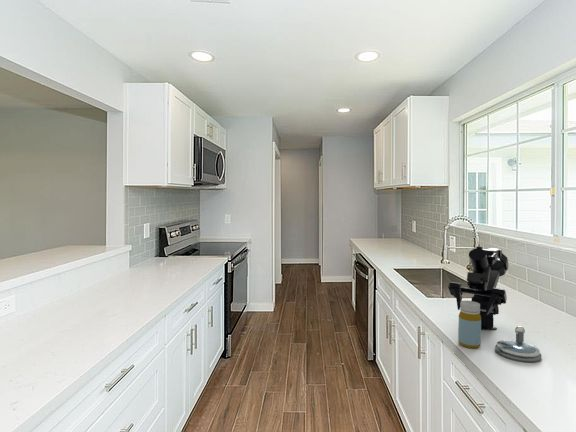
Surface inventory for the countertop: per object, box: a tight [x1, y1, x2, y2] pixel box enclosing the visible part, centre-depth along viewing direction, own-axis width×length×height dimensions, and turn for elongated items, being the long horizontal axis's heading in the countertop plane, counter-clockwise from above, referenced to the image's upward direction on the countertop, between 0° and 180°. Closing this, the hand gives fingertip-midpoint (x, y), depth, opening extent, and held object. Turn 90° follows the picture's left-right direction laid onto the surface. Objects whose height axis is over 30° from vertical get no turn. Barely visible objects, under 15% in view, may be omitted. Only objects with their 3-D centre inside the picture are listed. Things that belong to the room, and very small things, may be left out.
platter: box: [496, 339, 541, 358], centre depth 120 cm, size 12×12×1 cm
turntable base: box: [494, 325, 542, 364], centre depth 120 cm, size 13×13×7 cm
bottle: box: [457, 300, 482, 350], centre depth 127 cm, size 7×7×15 cm
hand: (472, 311), depth 129 cm, fingers open, 9 cm apart
